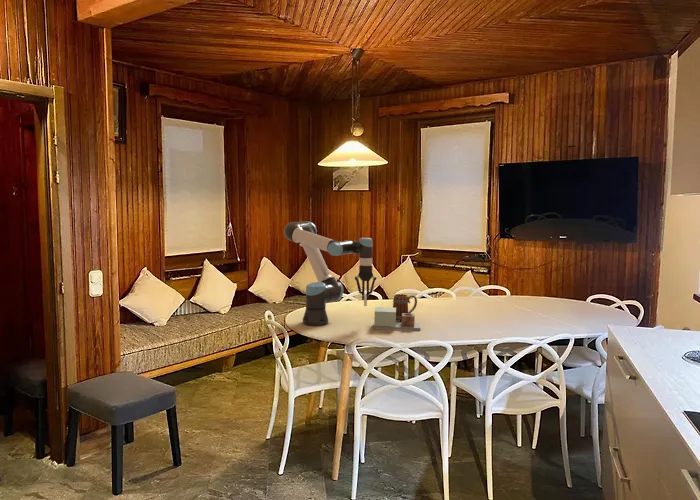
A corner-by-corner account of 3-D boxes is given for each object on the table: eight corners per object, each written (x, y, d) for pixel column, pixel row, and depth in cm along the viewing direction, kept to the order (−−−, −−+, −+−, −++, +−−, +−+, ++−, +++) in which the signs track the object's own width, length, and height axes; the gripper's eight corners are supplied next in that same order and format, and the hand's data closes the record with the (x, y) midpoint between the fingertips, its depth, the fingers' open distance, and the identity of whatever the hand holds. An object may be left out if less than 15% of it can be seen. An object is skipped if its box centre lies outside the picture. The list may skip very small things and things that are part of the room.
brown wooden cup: (401, 326, 313) (402, 315, 312) (401, 323, 320) (402, 313, 319) (414, 326, 312) (414, 316, 311) (413, 323, 319) (414, 313, 318)
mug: (394, 321, 330) (394, 297, 328) (389, 317, 340) (390, 293, 339) (418, 320, 333) (419, 296, 331) (413, 317, 343) (414, 293, 342)
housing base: (374, 328, 312) (374, 317, 311) (375, 323, 324) (375, 312, 323) (420, 330, 310) (420, 319, 309) (419, 325, 321) (420, 314, 321)
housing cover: (374, 325, 312) (374, 311, 311) (375, 320, 324) (375, 306, 323) (395, 326, 311) (395, 312, 310) (395, 321, 322) (396, 307, 322)
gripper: (353, 265, 311) (353, 306, 314) (376, 265, 310) (376, 307, 312) (354, 263, 319) (354, 304, 321) (377, 264, 318) (377, 304, 320)
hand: (365, 305), depth 317 cm, fingers closed
